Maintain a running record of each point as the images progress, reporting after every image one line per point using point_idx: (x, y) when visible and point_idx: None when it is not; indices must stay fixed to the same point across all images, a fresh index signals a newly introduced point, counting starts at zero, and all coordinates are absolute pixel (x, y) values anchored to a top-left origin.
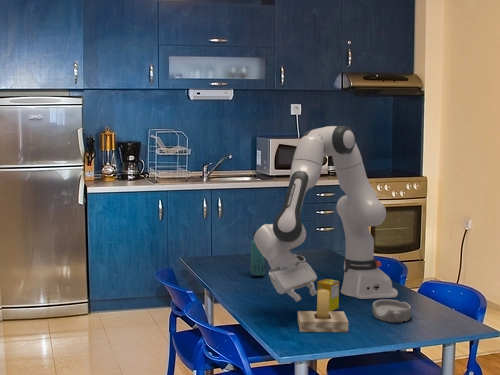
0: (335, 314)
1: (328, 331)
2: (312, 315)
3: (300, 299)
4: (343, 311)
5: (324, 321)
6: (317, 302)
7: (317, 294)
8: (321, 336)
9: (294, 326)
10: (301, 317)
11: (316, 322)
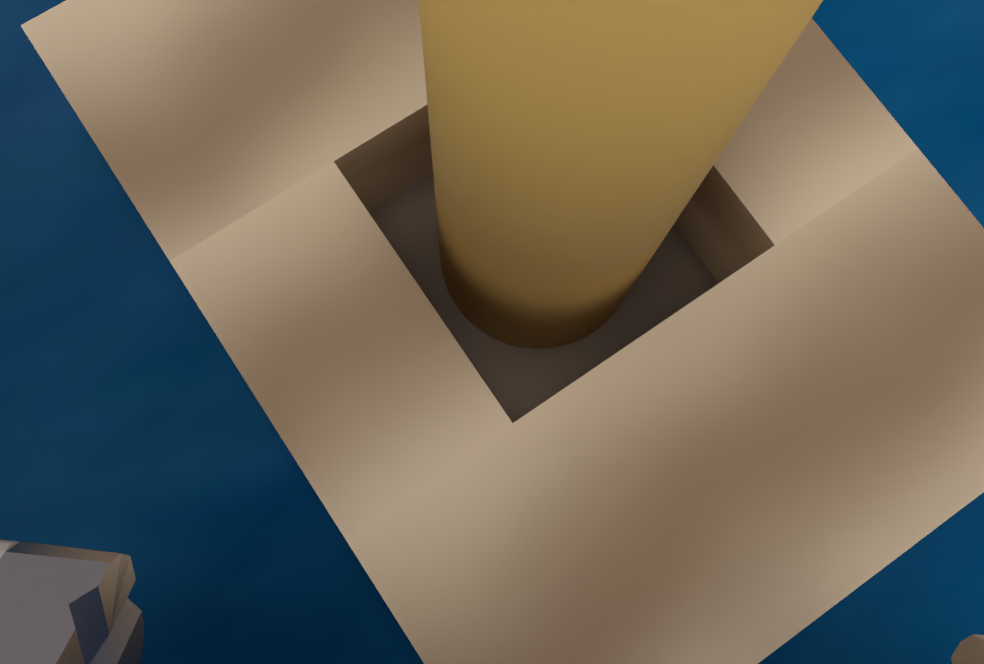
0: (297, 61)
1: None
2: (623, 389)
3: (971, 656)
4: (33, 21)
5: (804, 36)
6: (711, 159)
7: (755, 63)
8: (950, 62)
9: (822, 645)
10: (878, 509)
11: (905, 148)
